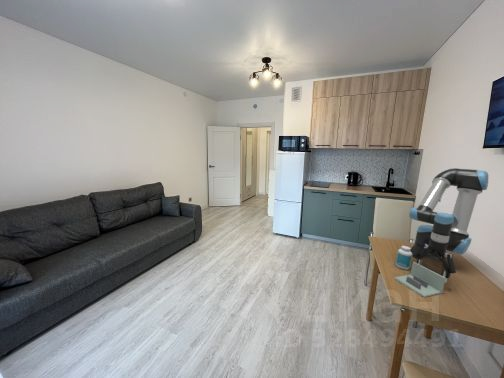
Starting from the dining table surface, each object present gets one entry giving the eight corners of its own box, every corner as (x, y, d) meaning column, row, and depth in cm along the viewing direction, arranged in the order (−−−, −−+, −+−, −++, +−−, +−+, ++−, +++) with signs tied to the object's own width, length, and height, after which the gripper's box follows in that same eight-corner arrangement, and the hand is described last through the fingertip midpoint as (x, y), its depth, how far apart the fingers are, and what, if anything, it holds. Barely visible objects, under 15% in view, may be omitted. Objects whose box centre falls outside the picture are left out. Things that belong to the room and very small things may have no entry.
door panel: (422, 275, 127) (426, 256, 125) (441, 285, 118) (446, 265, 116) (418, 275, 126) (422, 257, 124) (437, 286, 117) (442, 266, 115)
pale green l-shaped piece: (411, 275, 126) (414, 261, 124) (442, 293, 111) (446, 277, 109) (394, 278, 121) (397, 264, 120) (423, 297, 106) (427, 281, 105)
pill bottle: (411, 271, 131) (415, 250, 129) (398, 269, 132) (402, 249, 130) (405, 264, 138) (409, 245, 136) (393, 263, 140) (396, 244, 137)
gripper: (411, 232, 128) (405, 265, 132) (461, 251, 105) (451, 290, 109) (420, 231, 130) (413, 263, 134) (471, 250, 107) (461, 288, 111)
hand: (430, 275), depth 121 cm, fingers open, 12 cm apart
